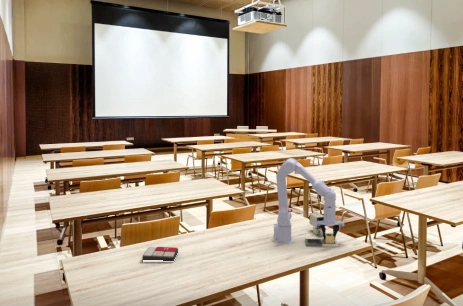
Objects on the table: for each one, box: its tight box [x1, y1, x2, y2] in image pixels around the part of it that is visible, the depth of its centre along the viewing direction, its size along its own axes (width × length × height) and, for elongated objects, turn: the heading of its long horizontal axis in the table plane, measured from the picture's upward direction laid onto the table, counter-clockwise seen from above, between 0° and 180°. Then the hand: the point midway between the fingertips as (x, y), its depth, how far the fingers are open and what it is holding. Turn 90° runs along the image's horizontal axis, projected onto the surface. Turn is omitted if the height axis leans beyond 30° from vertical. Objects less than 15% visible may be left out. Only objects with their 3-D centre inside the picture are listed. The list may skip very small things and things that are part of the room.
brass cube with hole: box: [324, 232, 334, 244], centre depth 191 cm, size 4×4×5 cm
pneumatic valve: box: [308, 211, 324, 236], centre depth 205 cm, size 6×12×12 cm, turn 15°
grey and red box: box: [142, 246, 179, 262], centre depth 180 cm, size 11×4×15 cm
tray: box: [304, 238, 339, 248], centre depth 191 cm, size 16×7×2 cm, turn 86°
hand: (329, 239), depth 191 cm, fingers closed on brass cube with hole, 4 cm apart
